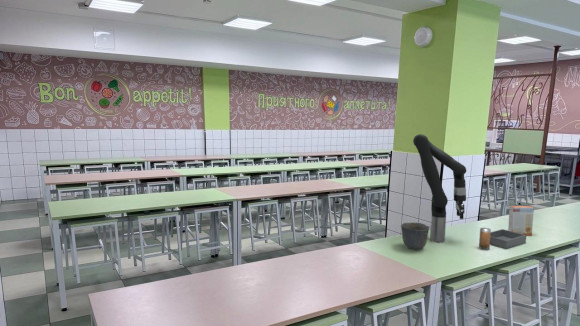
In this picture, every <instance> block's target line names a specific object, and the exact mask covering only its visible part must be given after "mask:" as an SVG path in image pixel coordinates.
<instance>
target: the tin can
mask: <svg viewBox="0 0 580 326" xmlns="http://www.w3.org/2000/svg"><path fill="white" fill-rule="evenodd" d="M491 232H492V229H491V228H488V227H480V228H479V241H478V249H480V250H482V251H489V250H490V247H491V245H490V236H491Z"/></svg>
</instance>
